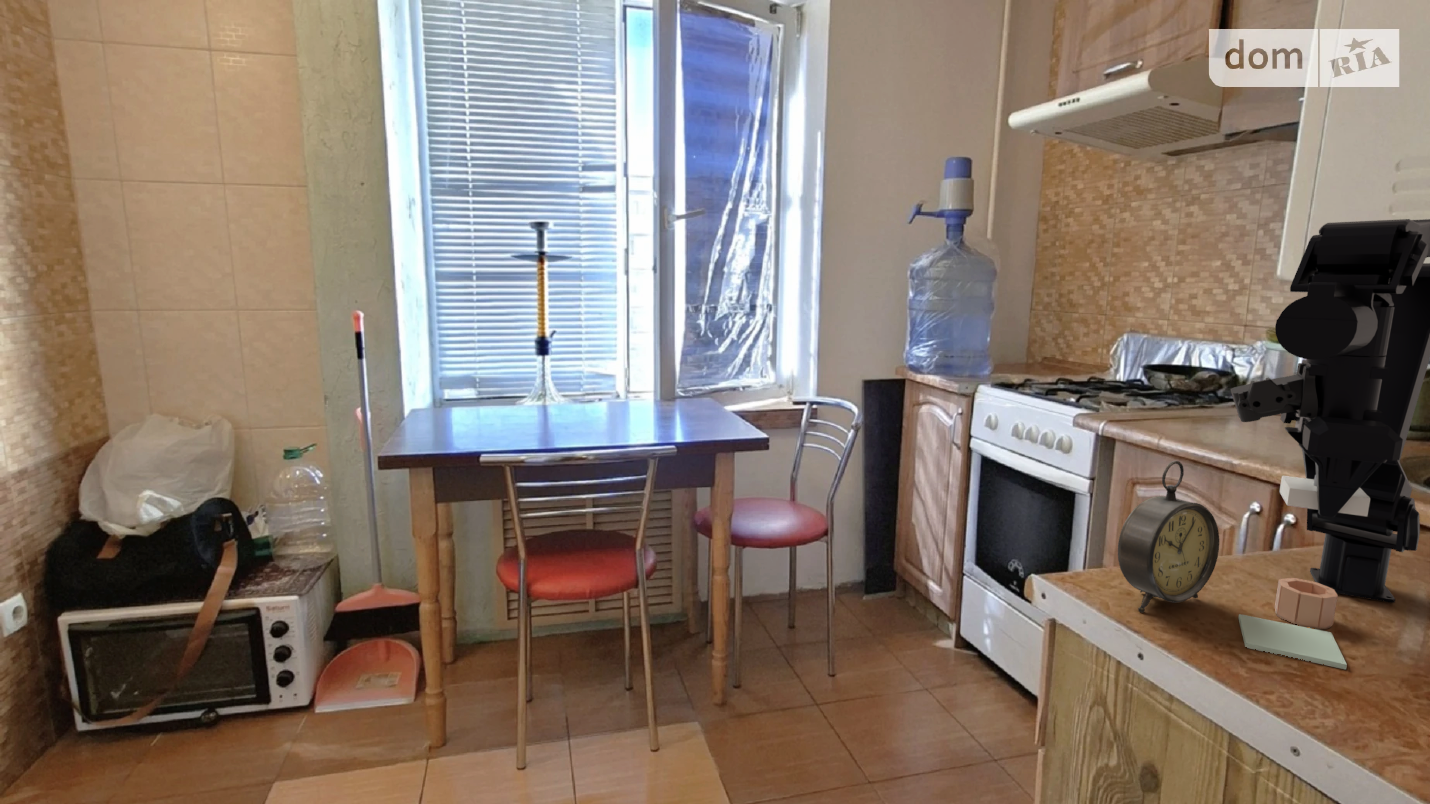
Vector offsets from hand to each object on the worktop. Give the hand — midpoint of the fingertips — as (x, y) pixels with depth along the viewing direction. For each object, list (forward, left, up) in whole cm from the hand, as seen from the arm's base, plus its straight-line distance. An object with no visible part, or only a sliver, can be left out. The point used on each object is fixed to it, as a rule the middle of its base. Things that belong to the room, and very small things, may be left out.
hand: (1320, 508), depth 71 cm
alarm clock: (+1, -13, -13) cm, 18 cm away
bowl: (-2, 0, -13) cm, 13 cm away
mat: (+5, -2, -13) cm, 14 cm away
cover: (0, 0, 0) cm, 0 cm away
